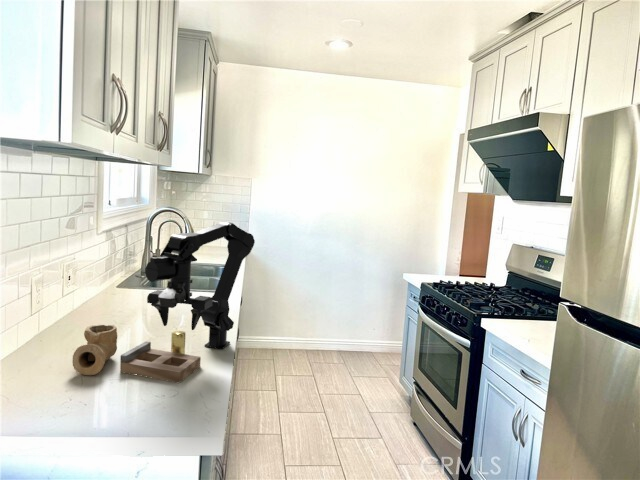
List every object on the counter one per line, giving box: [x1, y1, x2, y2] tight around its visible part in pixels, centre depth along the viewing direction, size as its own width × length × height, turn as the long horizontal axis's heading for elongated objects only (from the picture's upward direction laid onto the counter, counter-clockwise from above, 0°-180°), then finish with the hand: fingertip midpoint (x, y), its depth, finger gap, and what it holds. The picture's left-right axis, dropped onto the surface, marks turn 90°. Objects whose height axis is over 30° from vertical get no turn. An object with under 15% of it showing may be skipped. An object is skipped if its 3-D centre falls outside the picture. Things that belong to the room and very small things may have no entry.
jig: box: [119, 340, 202, 383], centre depth 134 cm, size 12×18×5 cm, turn 77°
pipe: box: [72, 324, 118, 376], centre depth 133 cm, size 9×16×10 cm, turn 8°
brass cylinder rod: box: [170, 330, 186, 354], centre depth 142 cm, size 4×4×8 cm
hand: (179, 327), depth 142 cm, fingers open, 9 cm apart
